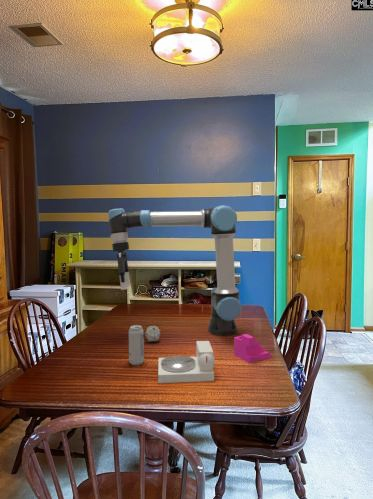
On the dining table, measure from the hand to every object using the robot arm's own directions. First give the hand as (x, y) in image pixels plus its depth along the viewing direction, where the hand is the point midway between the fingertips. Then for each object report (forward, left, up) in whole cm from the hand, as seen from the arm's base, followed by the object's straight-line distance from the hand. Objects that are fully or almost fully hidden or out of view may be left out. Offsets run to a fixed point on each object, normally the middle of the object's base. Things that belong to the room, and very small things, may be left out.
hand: (125, 287), depth 163 cm
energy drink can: (-6, +23, -27) cm, 36 cm away
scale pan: (-23, +34, -24) cm, 47 cm away
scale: (-25, +34, -27) cm, 50 cm away
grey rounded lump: (-12, -2, -27) cm, 30 cm away
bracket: (-55, +20, -27) cm, 65 cm away
